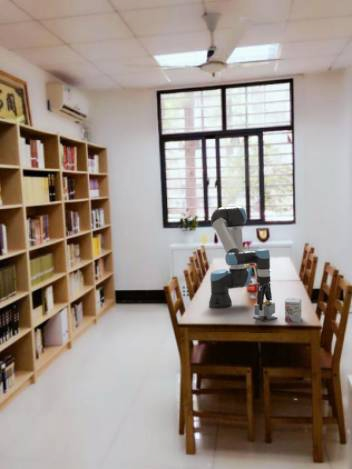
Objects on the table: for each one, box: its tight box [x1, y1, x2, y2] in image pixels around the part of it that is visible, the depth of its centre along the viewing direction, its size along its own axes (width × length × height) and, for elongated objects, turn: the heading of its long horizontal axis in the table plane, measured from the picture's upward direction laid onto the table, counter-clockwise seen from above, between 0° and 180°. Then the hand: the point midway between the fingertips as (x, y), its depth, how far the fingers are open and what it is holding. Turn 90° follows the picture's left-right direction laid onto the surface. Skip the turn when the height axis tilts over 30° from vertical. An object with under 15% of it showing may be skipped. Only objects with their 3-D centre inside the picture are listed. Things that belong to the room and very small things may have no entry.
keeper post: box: [252, 301, 278, 323], centre depth 257 cm, size 10×10×10 cm
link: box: [254, 301, 276, 317], centre depth 257 cm, size 9×9×6 cm
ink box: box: [284, 297, 302, 323], centre depth 251 cm, size 9×9×12 cm
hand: (264, 313), depth 257 cm, fingers closed on link, 9 cm apart
